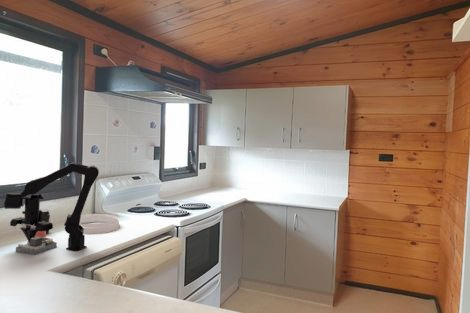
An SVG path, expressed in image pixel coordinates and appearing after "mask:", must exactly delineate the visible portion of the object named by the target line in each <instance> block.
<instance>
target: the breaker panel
mask: <svg viewBox="0 0 470 313" xmlns="http://www.w3.org/2000/svg"><path fill="white" fill-rule="evenodd" d="M41 238H42V245H39V246H36V247H35V246H30V243H29V241H28V240H27V241H26V242H27V243H26V244H23V243H18V244H17V245H18V246H16V247H15V253H21V254H27V255H32V256H33V255H37V254H40V253H43V252H46V251H48V250H52V249H53V248H57V245H58V243H57V242H55V241H54V238H51V237H46V238H45V237H41Z"/></svg>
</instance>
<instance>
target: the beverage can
mask: <svg viewBox="0 0 470 313" xmlns="http://www.w3.org/2000/svg"><path fill="white" fill-rule="evenodd" d="M41 210H42V214H46V215H50V212H49V211H50V210H49V209H41ZM43 222H46V221H43ZM48 222H50V220H49V221H48ZM39 223H42V222H39ZM49 232H50V230H46V234H48V233H49Z"/></svg>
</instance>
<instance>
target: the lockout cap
mask: <svg viewBox="0 0 470 313" xmlns="http://www.w3.org/2000/svg"><path fill="white" fill-rule="evenodd" d="M36 236H38V237H45V238H47V233H46V231H37V233H36V235H35V237H36Z"/></svg>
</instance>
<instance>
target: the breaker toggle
mask: <svg viewBox="0 0 470 313" xmlns="http://www.w3.org/2000/svg"><path fill="white" fill-rule="evenodd" d="M39 245H42V238H41V237H38V236H36V237H33V238H31V239H30V246H35V247H36V246H39Z"/></svg>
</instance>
